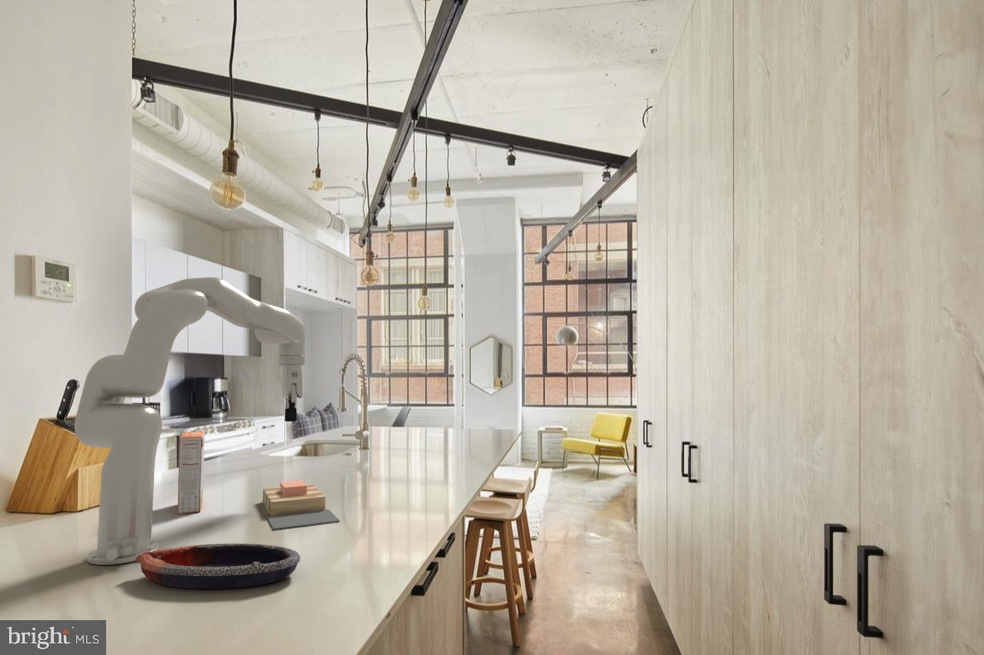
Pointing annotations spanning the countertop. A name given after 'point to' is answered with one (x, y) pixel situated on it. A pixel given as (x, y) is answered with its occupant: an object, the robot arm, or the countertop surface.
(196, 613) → the countertop surface
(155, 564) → the dish
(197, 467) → the cracker box
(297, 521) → the mat
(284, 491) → the pink rectangular block
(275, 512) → the wooden block
